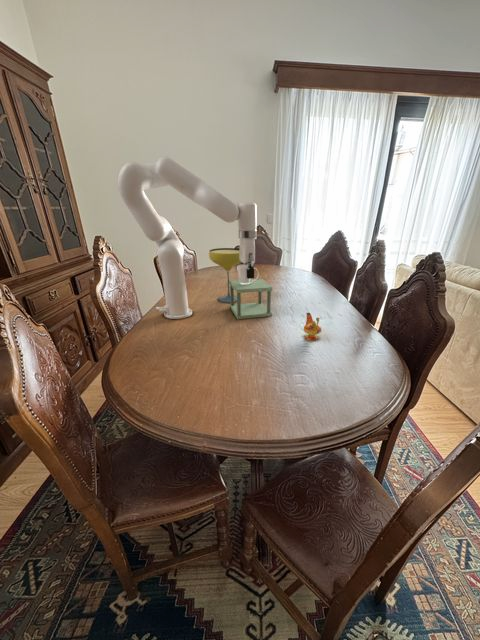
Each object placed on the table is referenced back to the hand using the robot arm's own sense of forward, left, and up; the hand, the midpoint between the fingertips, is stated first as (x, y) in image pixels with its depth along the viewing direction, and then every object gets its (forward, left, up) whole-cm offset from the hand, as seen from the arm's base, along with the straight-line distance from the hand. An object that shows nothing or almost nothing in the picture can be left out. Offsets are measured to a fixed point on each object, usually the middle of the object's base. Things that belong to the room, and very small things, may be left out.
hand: (247, 275), depth 129 cm
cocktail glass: (-5, +21, -17) cm, 28 cm away
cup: (0, 0, -4) cm, 4 cm away
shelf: (+1, 0, -17) cm, 17 cm away
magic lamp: (+17, -33, -17) cm, 41 cm away
